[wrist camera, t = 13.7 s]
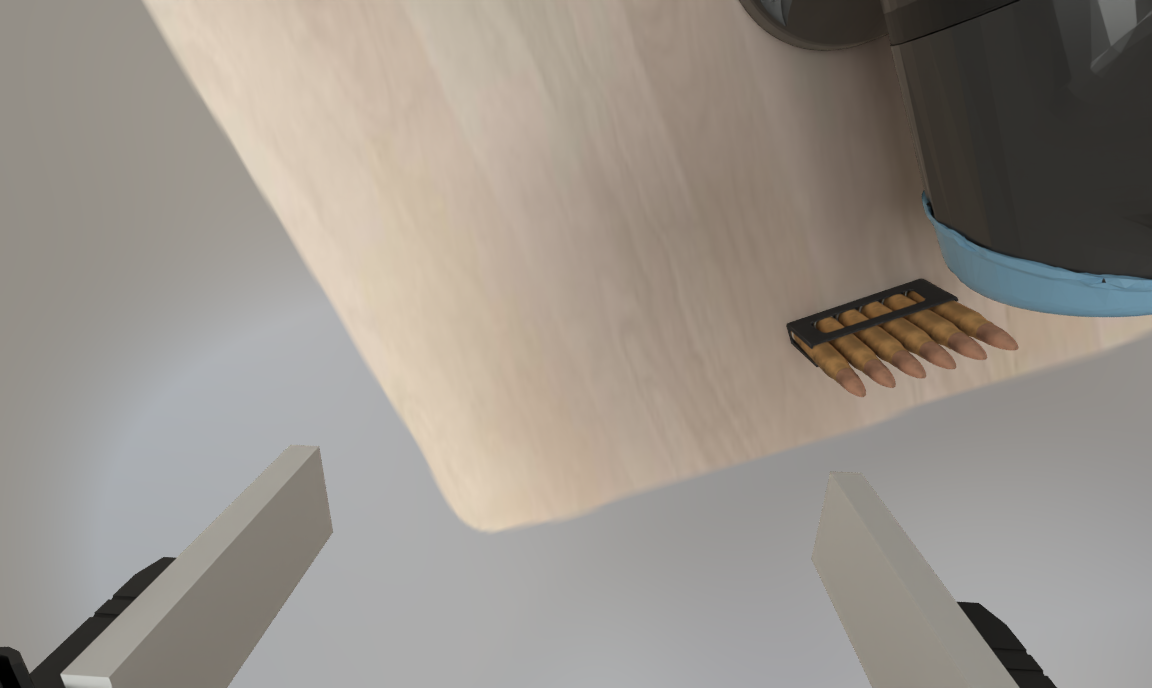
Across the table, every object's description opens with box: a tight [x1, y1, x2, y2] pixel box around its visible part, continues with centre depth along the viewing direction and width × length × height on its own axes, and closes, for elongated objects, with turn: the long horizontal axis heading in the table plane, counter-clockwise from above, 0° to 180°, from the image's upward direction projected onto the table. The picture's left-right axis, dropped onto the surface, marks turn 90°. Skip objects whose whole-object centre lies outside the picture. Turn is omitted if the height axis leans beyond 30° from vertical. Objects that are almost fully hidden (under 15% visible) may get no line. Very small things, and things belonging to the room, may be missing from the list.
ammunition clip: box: [787, 279, 1018, 397], centre depth 39 cm, size 11×2×12 cm, turn 112°
